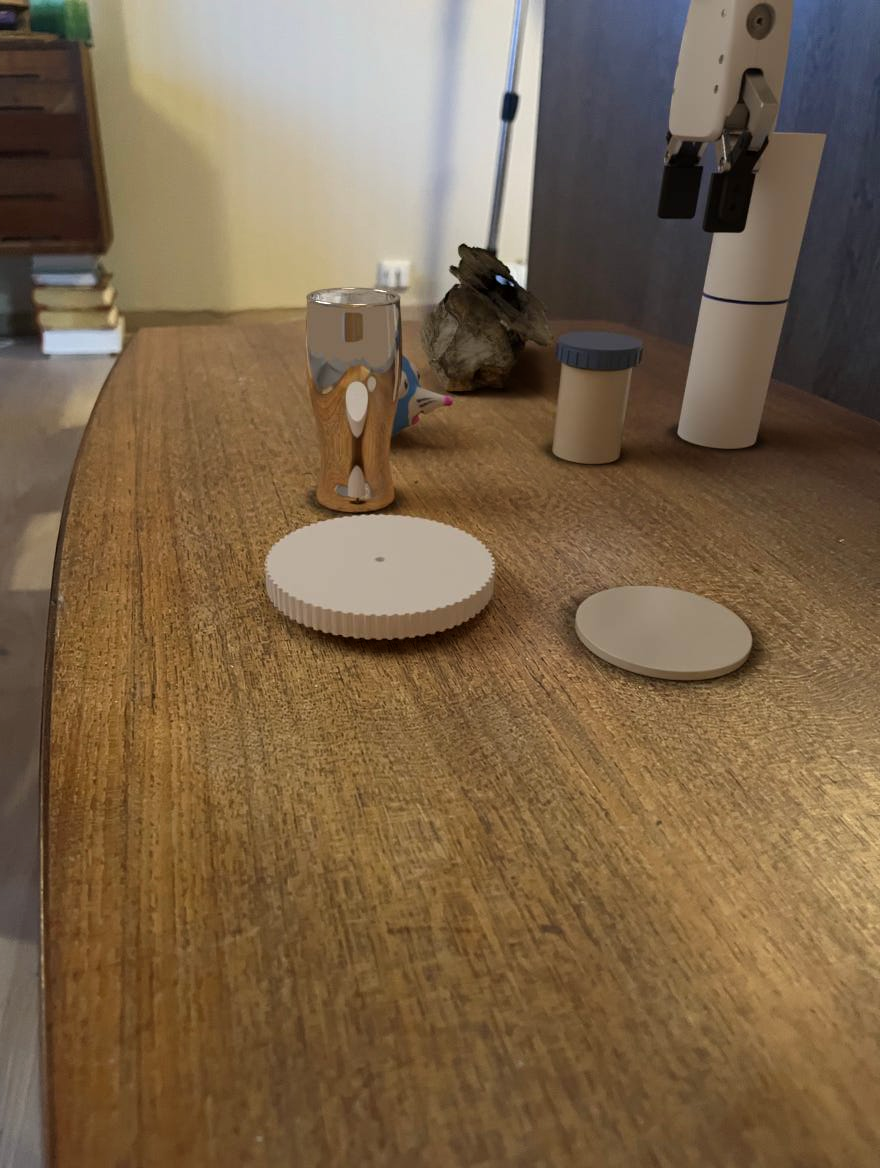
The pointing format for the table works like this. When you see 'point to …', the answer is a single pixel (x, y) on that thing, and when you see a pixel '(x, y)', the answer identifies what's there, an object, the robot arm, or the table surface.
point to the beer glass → (354, 392)
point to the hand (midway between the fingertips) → (697, 224)
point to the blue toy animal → (414, 399)
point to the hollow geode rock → (481, 324)
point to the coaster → (663, 632)
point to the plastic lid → (379, 576)
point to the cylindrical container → (749, 298)
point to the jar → (591, 414)
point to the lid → (599, 350)
